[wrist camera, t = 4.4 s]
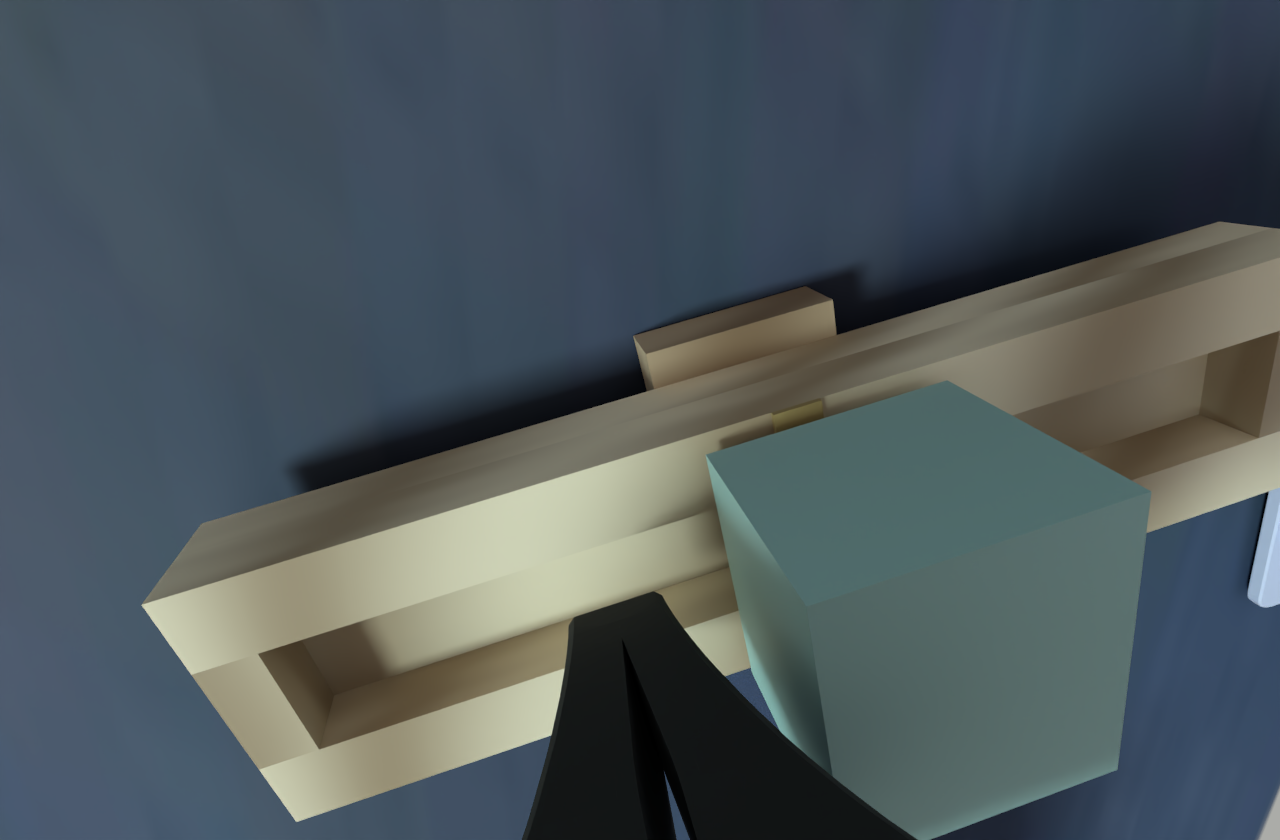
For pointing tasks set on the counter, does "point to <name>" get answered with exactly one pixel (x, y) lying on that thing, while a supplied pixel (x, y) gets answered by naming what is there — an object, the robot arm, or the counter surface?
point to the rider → (936, 601)
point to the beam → (682, 502)
